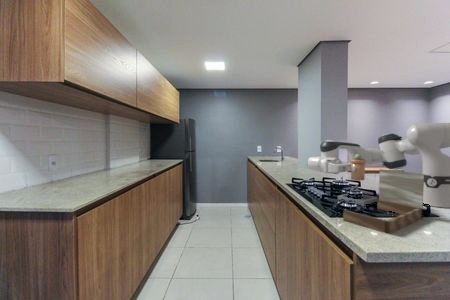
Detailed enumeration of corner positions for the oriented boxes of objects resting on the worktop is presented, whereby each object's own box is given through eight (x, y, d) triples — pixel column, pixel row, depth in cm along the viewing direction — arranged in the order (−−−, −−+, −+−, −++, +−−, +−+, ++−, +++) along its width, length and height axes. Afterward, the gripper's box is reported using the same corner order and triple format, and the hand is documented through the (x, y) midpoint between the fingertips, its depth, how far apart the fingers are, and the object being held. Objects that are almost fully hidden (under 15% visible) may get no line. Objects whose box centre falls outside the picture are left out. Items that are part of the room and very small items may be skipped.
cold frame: (379, 208, 116) (380, 169, 114) (422, 217, 102) (424, 173, 101) (343, 220, 100) (344, 175, 99) (388, 233, 86) (390, 181, 85)
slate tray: (351, 197, 136) (351, 192, 136) (377, 202, 126) (377, 197, 125) (337, 200, 129) (337, 195, 129) (363, 206, 118) (363, 201, 118)
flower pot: (354, 177, 131) (355, 153, 130) (368, 179, 125) (368, 154, 124) (347, 179, 127) (347, 154, 126) (360, 181, 121) (361, 154, 121)
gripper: (344, 169, 142) (370, 172, 131) (322, 173, 131) (348, 176, 120) (344, 158, 142) (370, 160, 131) (322, 161, 131) (348, 163, 119)
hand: (359, 168), depth 125 cm, fingers closed on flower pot, 6 cm apart
